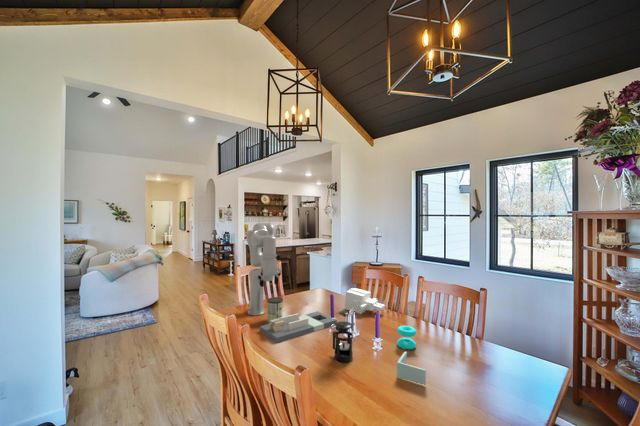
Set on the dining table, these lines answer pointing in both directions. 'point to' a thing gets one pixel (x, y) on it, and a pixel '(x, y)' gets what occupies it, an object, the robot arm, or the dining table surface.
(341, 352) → the french press
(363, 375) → the dining table surface
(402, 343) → the donuts
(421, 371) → the l-shaped corner panel
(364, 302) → the blocky voxel creature
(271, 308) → the coffee can
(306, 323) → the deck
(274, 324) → the birch block
